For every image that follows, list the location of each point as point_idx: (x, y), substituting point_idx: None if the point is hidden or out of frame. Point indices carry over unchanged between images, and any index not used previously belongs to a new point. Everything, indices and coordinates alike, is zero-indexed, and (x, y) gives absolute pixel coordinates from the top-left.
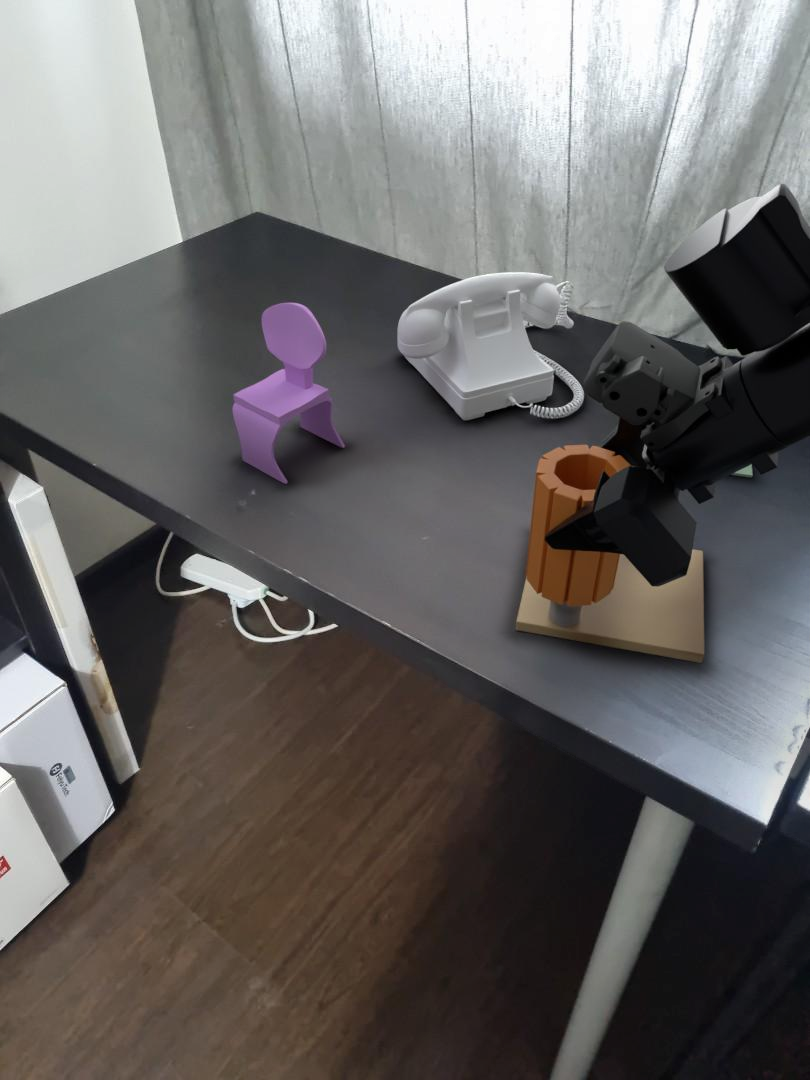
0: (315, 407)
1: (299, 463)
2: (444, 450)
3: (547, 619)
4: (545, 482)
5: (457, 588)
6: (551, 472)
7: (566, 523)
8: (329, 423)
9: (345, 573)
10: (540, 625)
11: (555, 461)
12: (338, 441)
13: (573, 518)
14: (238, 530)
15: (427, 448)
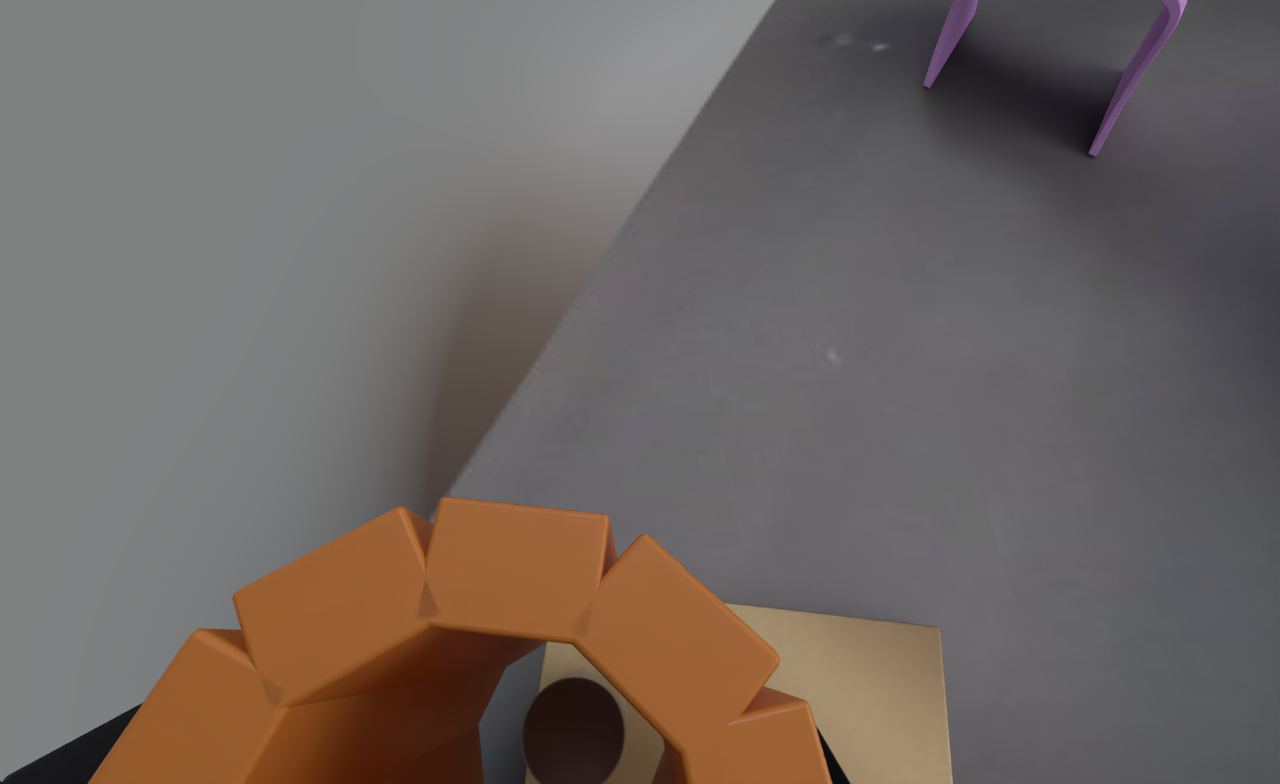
0: (1158, 26)
1: (999, 94)
2: (1190, 360)
3: (568, 666)
4: (314, 562)
5: (679, 442)
6: (430, 604)
7: (120, 727)
8: (1128, 81)
9: (686, 227)
10: (547, 647)
11: (577, 633)
12: (1098, 134)
13: (46, 782)
14: (766, 50)
15: (1177, 320)
